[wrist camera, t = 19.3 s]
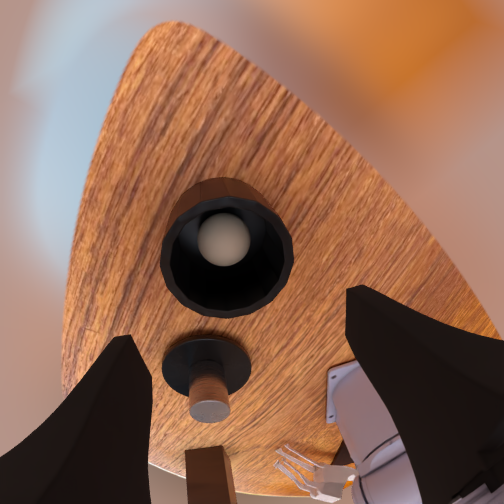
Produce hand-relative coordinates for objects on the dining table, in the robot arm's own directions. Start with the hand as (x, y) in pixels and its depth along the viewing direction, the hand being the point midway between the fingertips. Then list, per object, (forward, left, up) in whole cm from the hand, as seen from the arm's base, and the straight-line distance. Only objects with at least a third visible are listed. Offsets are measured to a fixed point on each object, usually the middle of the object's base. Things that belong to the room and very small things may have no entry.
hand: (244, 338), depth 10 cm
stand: (-27, +7, -10) cm, 30 cm away
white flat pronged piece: (-34, -7, -10) cm, 36 cm away
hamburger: (-35, -15, -11) cm, 39 cm away
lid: (-11, +4, -10) cm, 15 cm away
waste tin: (0, 0, -10) cm, 10 cm away
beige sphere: (0, 0, -8) cm, 8 cm away
